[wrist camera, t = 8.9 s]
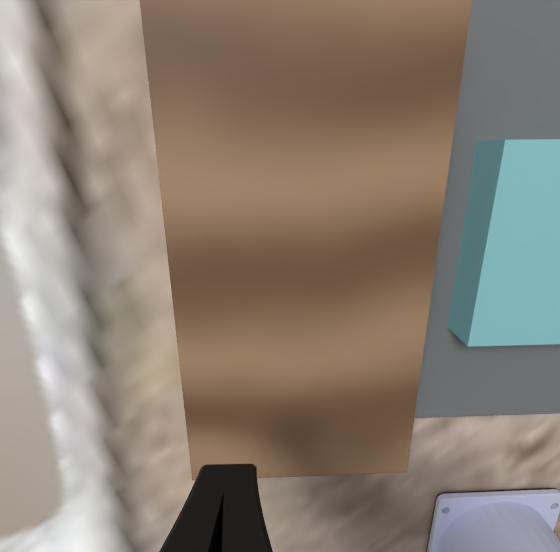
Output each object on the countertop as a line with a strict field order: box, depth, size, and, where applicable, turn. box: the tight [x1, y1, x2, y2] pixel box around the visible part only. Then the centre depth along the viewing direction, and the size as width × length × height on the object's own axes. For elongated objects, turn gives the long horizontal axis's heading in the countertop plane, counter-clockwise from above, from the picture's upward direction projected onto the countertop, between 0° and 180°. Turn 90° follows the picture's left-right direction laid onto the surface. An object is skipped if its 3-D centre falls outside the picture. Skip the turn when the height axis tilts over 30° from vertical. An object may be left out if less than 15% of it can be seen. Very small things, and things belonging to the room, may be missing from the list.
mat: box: [414, 0, 560, 418], centre depth 18 cm, size 20×12×1 cm, turn 1°
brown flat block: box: [140, 0, 472, 480], centre depth 16 cm, size 20×10×4 cm, turn 1°
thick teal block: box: [447, 139, 560, 347], centre depth 17 cm, size 9×6×2 cm, turn 1°
